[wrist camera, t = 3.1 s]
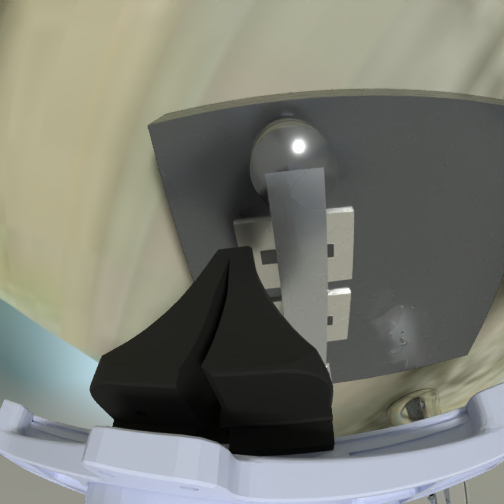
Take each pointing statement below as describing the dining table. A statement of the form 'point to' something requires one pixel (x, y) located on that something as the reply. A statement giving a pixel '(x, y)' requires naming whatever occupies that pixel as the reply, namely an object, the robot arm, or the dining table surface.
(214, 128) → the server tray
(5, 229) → the dining table surface
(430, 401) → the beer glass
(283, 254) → the grey ball-ended handle
